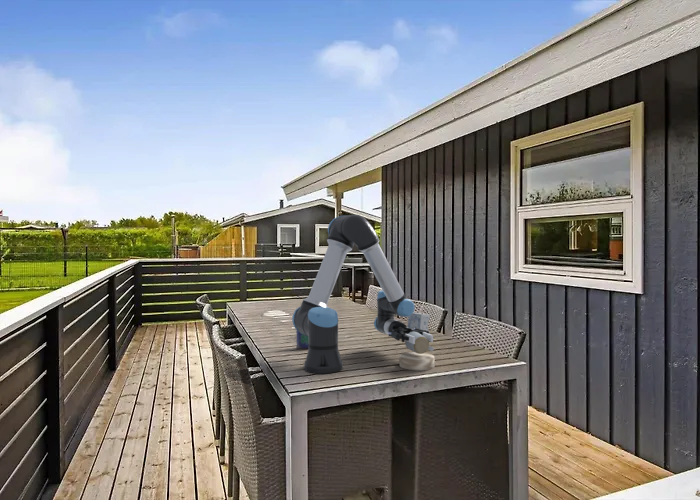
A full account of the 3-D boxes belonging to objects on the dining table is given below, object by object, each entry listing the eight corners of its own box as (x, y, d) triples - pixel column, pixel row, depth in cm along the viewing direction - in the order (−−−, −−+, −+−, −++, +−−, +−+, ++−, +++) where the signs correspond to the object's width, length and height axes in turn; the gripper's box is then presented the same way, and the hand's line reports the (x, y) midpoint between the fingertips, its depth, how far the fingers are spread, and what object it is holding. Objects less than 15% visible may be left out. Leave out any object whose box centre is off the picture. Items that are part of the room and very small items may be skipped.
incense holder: (430, 332, 256) (430, 312, 255) (420, 334, 250) (420, 314, 250) (416, 329, 263) (416, 310, 263) (406, 331, 258) (406, 312, 258)
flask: (295, 348, 218) (295, 325, 218) (297, 347, 221) (297, 324, 221) (315, 349, 217) (315, 326, 216) (316, 348, 220) (316, 325, 219)
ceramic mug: (414, 355, 183) (414, 335, 183) (404, 350, 191) (404, 331, 191) (437, 353, 187) (438, 334, 187) (427, 348, 194) (427, 330, 194)
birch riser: (421, 373, 179) (421, 362, 179) (392, 366, 189) (392, 356, 189) (441, 365, 190) (441, 355, 189) (412, 359, 199) (412, 350, 199)
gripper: (416, 335, 209) (445, 346, 188) (374, 339, 202) (400, 351, 180) (416, 318, 209) (445, 327, 188) (374, 322, 201) (400, 332, 180)
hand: (423, 339), depth 184 cm, fingers closed on ceramic mug, 7 cm apart
